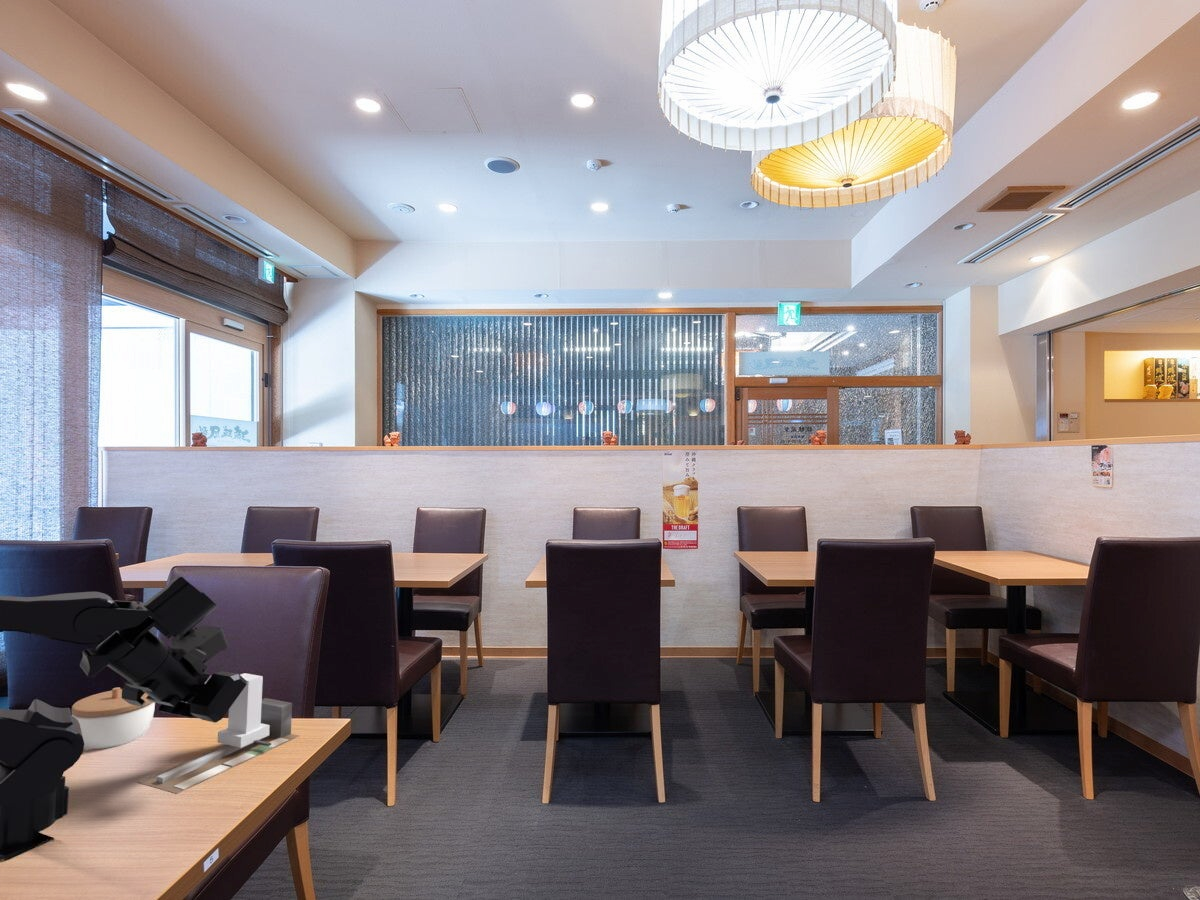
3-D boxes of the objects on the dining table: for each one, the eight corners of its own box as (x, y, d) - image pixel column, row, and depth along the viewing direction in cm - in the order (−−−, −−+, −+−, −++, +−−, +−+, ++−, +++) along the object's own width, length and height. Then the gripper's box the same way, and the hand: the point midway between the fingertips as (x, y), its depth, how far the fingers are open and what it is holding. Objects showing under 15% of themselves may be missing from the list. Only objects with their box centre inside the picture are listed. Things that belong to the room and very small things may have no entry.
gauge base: (176, 805, 80) (178, 755, 80) (136, 793, 83) (139, 745, 83) (299, 745, 98) (301, 704, 99) (263, 737, 101) (265, 698, 102)
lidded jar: (141, 756, 94) (144, 695, 94) (55, 767, 90) (59, 703, 90) (162, 730, 104) (165, 675, 104) (86, 738, 100) (89, 681, 100)
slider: (255, 752, 90) (258, 686, 91) (217, 743, 93) (220, 679, 94) (283, 739, 95) (286, 676, 95) (246, 731, 98) (249, 670, 98)
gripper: (238, 617, 84) (298, 675, 93) (148, 606, 90) (214, 661, 100) (177, 693, 76) (251, 747, 85) (84, 674, 82) (162, 727, 92)
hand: (219, 716), depth 91 cm, fingers closed
